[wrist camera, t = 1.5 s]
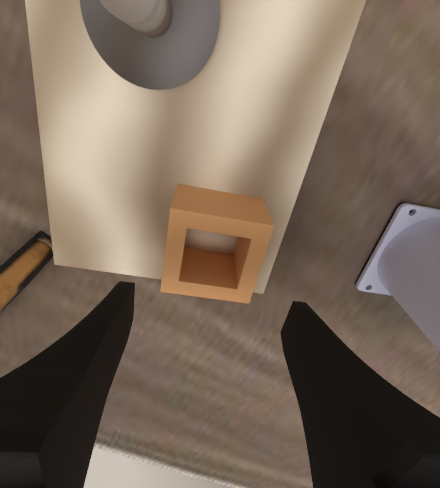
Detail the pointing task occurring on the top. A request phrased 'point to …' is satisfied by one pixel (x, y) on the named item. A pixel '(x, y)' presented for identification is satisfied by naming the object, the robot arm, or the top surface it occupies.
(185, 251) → the collar
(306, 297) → the top surface
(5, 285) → the ammunition clip
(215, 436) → the top surface
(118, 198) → the post board
